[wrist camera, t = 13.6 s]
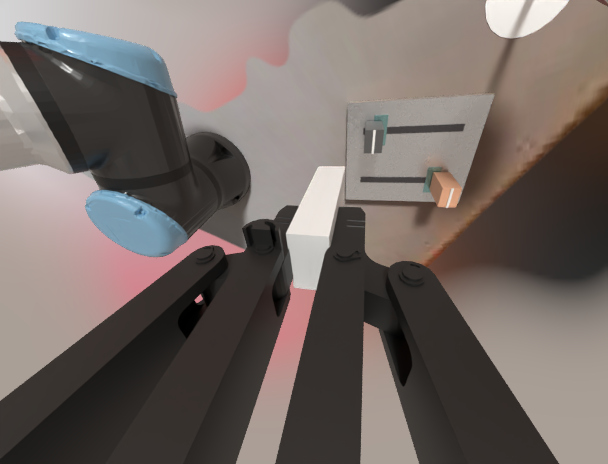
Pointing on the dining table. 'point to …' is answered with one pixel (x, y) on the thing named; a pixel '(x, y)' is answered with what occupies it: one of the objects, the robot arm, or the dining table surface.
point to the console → (413, 144)
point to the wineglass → (522, 15)
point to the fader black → (373, 137)
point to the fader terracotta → (445, 189)
